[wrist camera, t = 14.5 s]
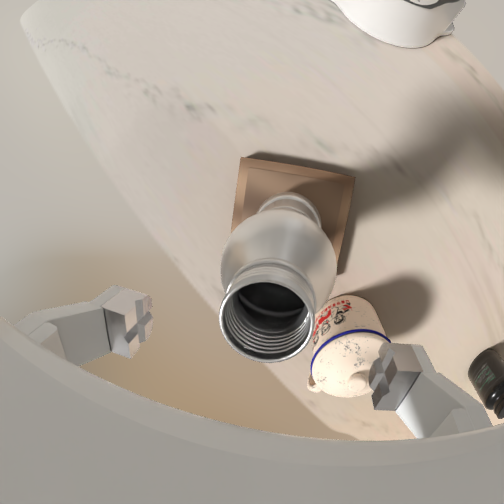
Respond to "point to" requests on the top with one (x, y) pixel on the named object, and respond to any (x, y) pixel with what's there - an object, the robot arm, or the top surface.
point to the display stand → (297, 181)
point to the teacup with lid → (345, 346)
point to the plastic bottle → (275, 279)
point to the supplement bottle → (489, 380)
